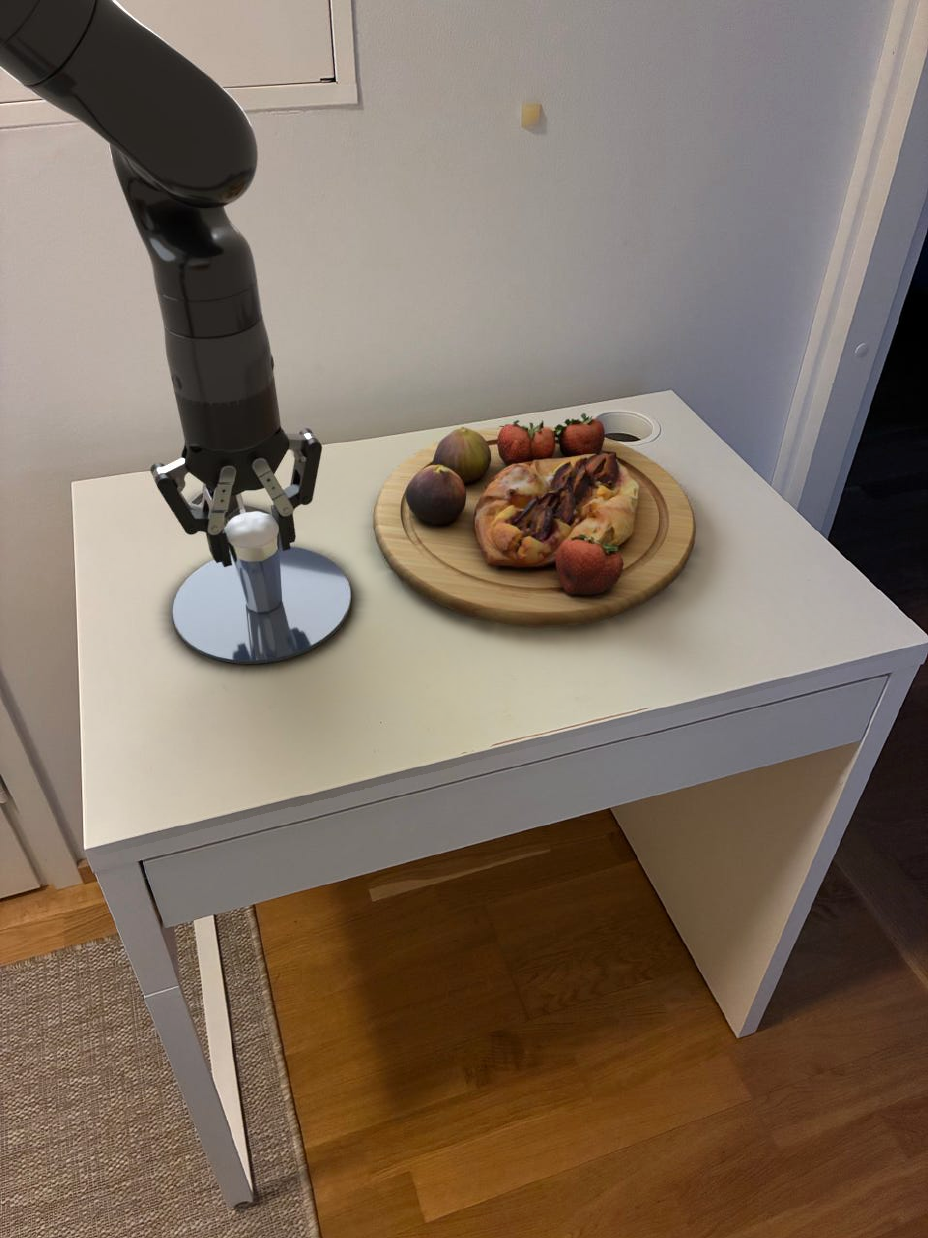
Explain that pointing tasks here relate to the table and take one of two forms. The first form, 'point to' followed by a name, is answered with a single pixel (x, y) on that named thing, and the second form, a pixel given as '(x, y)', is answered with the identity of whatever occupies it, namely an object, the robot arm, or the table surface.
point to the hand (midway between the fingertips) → (254, 552)
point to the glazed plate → (239, 635)
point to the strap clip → (232, 509)
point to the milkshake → (256, 557)
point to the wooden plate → (534, 524)
